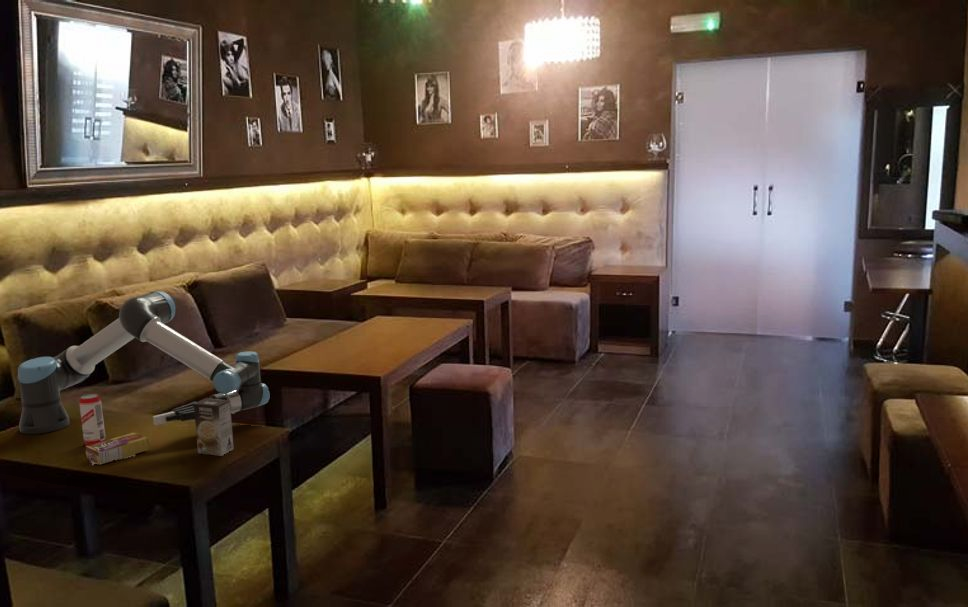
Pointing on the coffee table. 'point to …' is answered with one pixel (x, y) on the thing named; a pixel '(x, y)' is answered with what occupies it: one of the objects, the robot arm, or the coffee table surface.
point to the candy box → (117, 448)
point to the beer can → (92, 419)
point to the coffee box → (213, 426)
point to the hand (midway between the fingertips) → (154, 420)
